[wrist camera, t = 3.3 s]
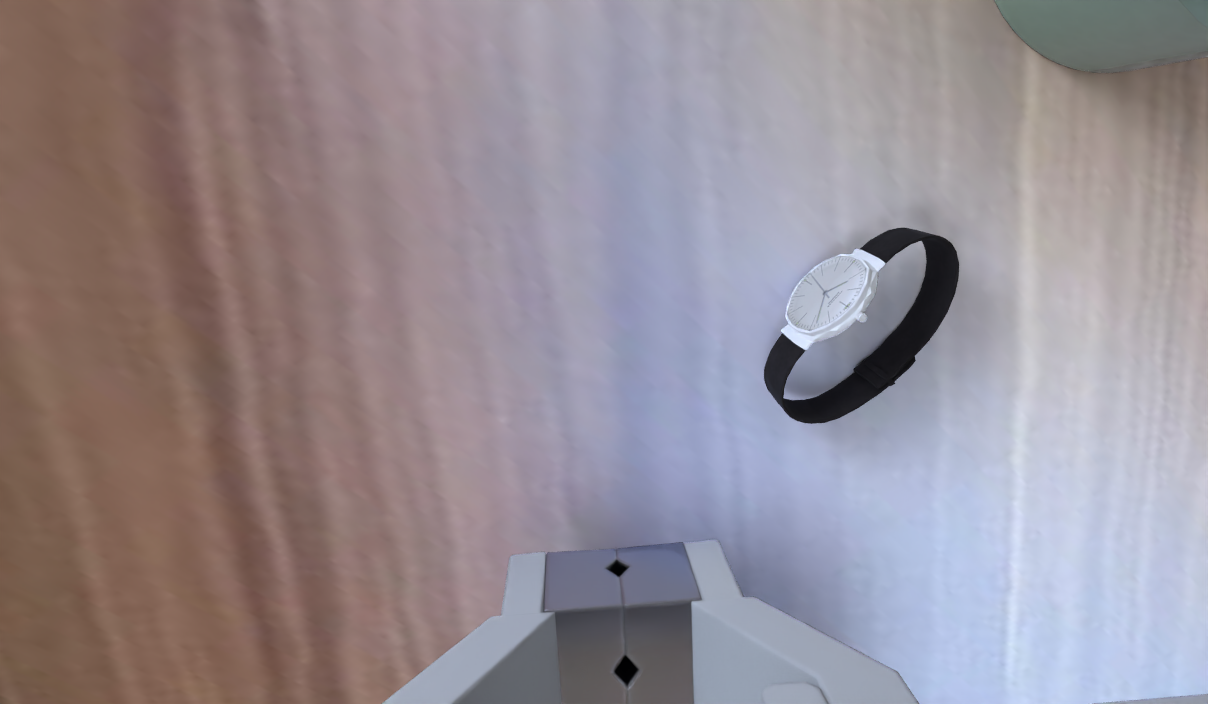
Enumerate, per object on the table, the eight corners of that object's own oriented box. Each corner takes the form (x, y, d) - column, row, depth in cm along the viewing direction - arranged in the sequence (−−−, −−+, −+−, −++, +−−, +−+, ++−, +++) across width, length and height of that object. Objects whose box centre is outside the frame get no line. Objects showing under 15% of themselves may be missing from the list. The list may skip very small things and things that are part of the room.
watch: (874, 193, 26) (924, 196, 22) (964, 279, 26) (1026, 296, 23) (725, 358, 27) (750, 386, 23) (816, 435, 28) (853, 474, 24)
